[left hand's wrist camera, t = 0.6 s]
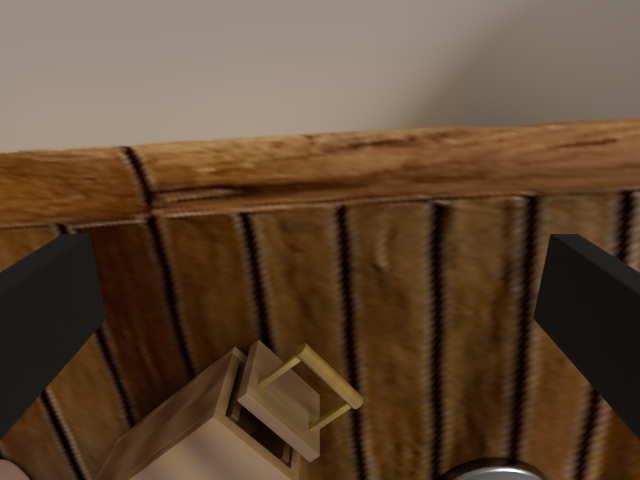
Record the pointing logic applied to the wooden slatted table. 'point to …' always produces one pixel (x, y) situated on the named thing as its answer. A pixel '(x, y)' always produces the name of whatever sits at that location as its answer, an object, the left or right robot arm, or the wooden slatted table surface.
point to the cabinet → (196, 437)
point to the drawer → (285, 401)
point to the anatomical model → (11, 471)
